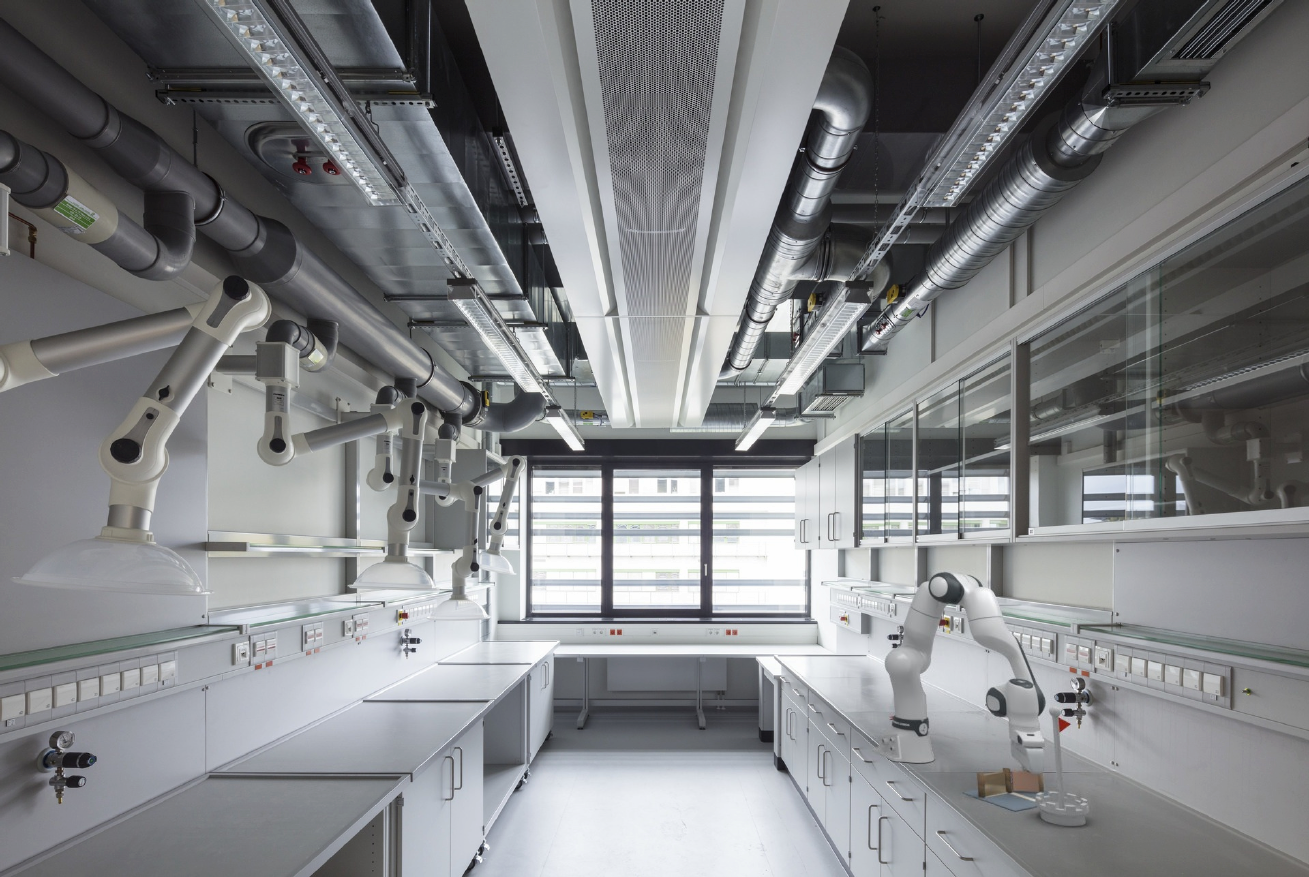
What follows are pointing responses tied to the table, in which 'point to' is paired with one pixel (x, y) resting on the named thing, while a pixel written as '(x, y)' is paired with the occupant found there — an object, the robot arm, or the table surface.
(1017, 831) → the table surface
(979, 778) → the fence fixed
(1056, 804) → the flag stand
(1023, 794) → the board
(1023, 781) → the fence section
